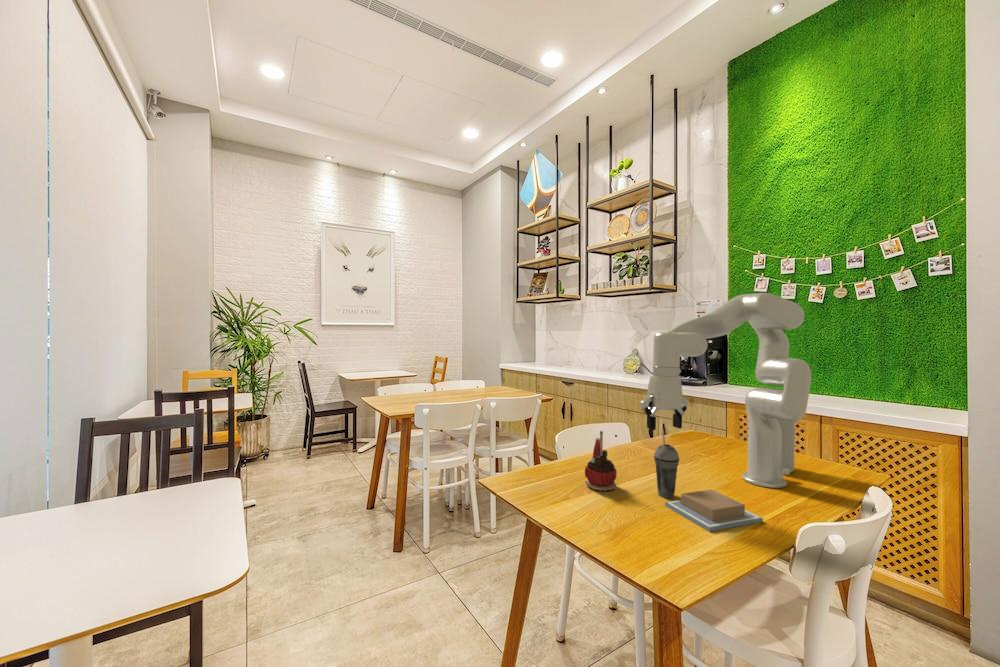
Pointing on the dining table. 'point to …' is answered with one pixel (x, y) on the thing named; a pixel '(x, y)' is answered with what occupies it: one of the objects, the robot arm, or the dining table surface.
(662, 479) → the beverage cup
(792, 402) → the robot arm
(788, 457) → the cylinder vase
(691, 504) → the brown block on tray
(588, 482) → the cake
